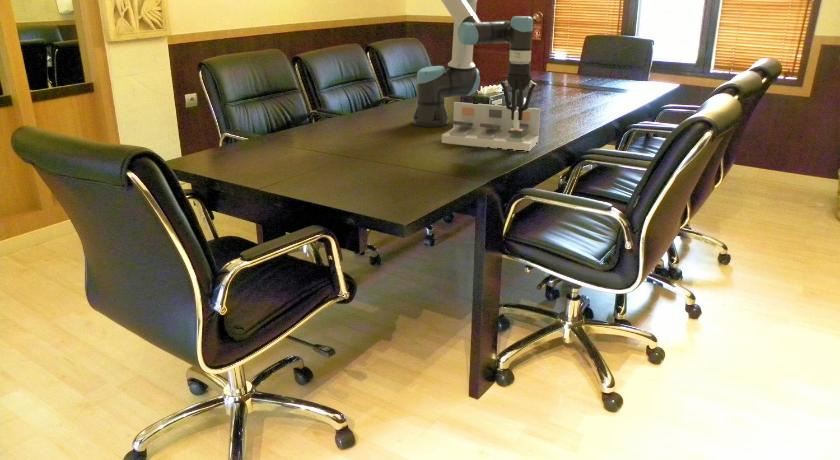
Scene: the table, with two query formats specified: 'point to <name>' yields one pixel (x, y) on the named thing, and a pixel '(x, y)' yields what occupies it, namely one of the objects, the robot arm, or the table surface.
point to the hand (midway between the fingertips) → (516, 128)
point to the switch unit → (490, 135)
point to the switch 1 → (462, 123)
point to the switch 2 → (489, 125)
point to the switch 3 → (521, 129)
